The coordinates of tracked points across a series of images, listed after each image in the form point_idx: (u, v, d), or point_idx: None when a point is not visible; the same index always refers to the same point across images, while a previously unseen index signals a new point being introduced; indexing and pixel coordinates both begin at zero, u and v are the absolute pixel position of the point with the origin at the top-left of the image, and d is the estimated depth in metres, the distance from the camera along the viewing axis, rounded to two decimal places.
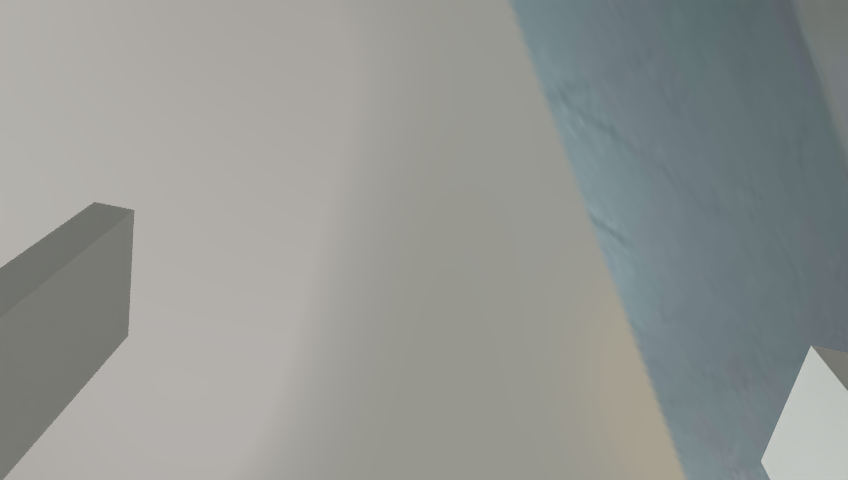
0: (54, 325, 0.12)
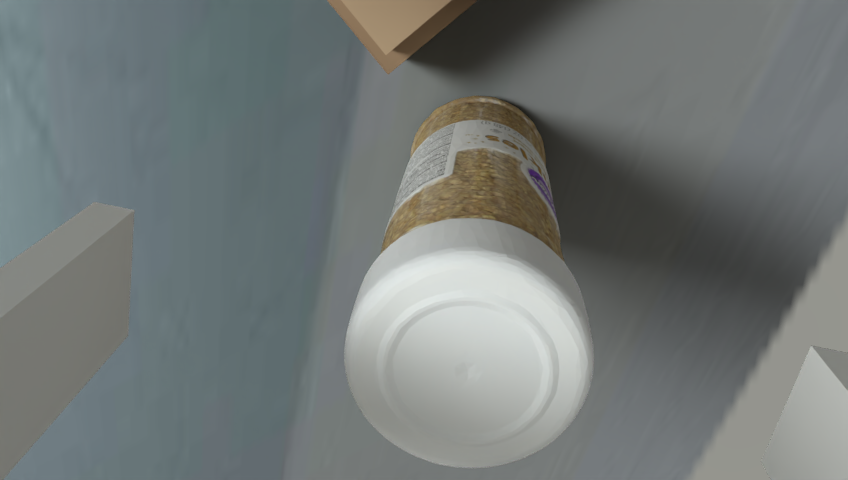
0: (54, 325, 0.12)
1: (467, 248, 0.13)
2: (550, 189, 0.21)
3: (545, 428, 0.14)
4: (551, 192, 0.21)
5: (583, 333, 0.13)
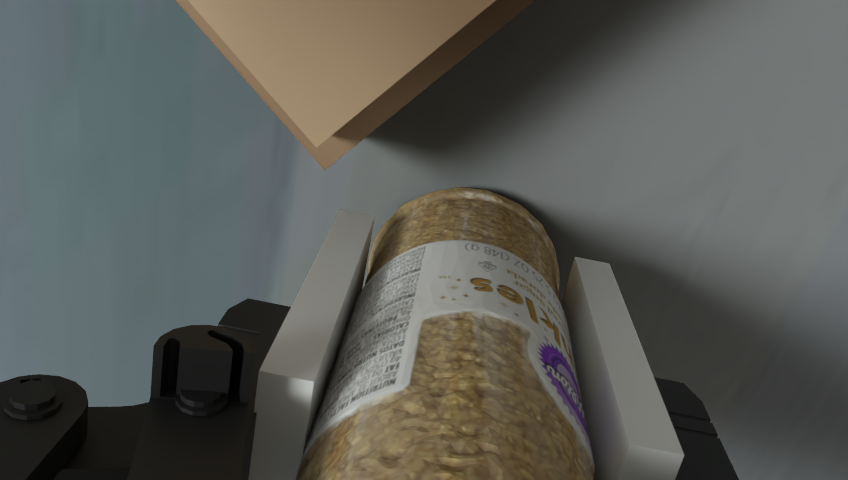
0: (346, 316, 0.14)
1: None
2: (572, 357, 0.14)
3: None
4: (573, 358, 0.14)
5: None
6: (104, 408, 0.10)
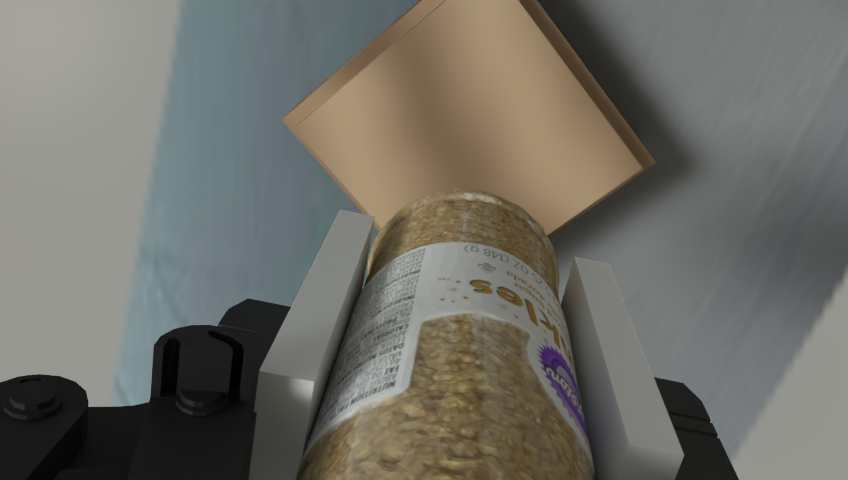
0: (346, 316, 0.14)
1: None
2: (572, 358, 0.14)
3: None
4: None
5: None
6: (104, 408, 0.10)
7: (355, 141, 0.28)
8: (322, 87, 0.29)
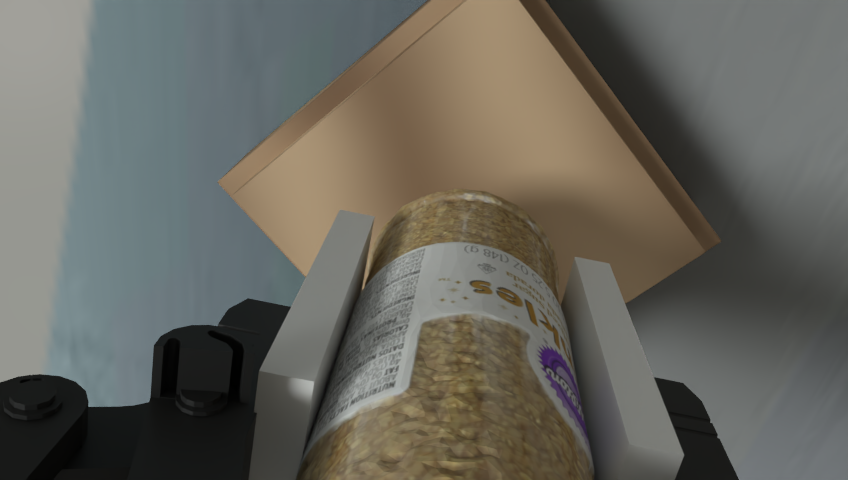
0: (346, 316, 0.14)
1: None
2: (572, 359, 0.14)
3: None
4: None
5: None
6: (104, 408, 0.10)
7: (314, 213, 0.21)
8: (270, 140, 0.21)
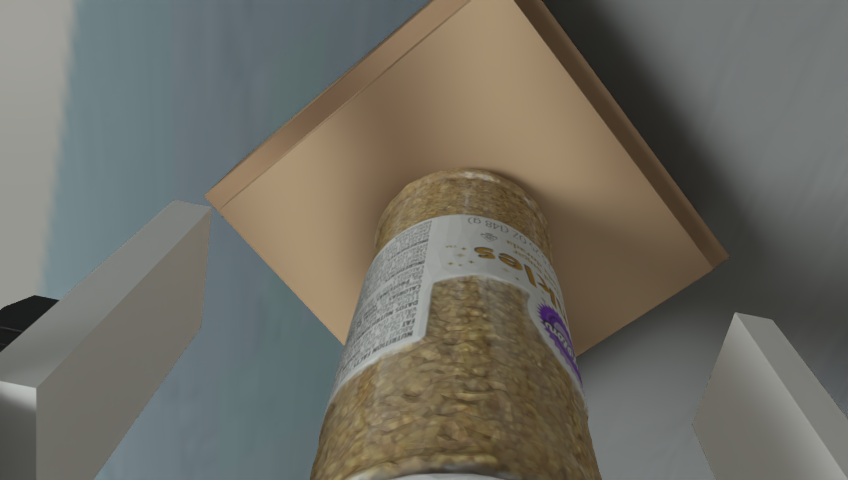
0: (151, 315, 0.13)
1: None
2: (566, 319, 0.15)
3: None
4: None
5: None
6: None
7: (304, 229, 0.20)
8: (259, 152, 0.20)
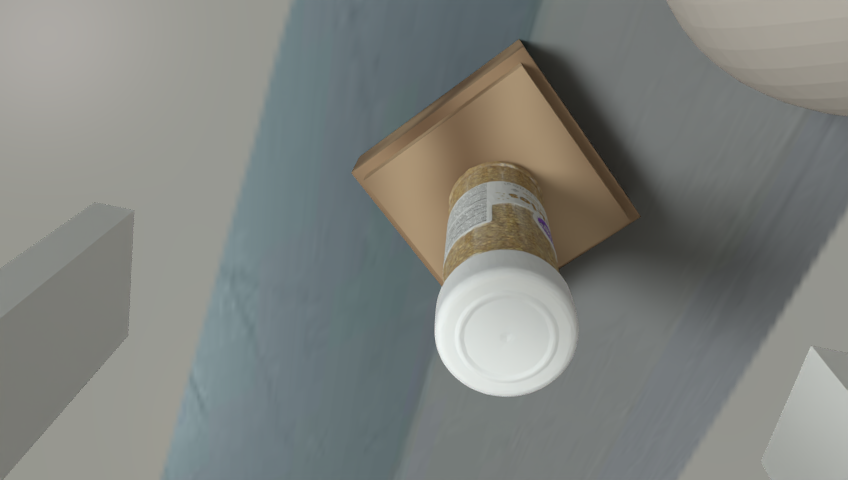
0: (54, 325, 0.12)
1: (510, 266, 0.24)
2: None
3: (549, 372, 0.24)
4: None
5: (573, 317, 0.24)
6: None
7: (410, 192, 0.37)
8: (385, 149, 0.37)
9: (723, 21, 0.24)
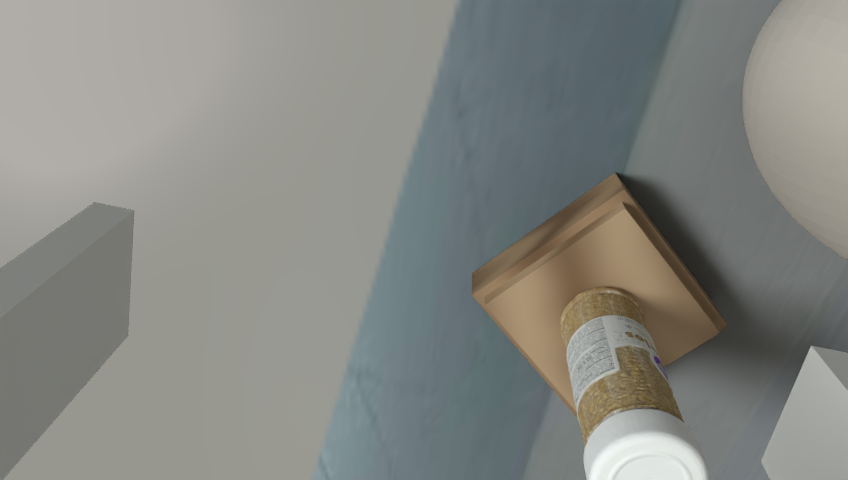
0: (54, 325, 0.12)
1: (652, 430, 0.29)
2: None
3: None
4: None
5: (705, 468, 0.29)
6: None
7: (525, 313, 0.42)
8: (502, 275, 0.42)
9: (820, 221, 0.29)
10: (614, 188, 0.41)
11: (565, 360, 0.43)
